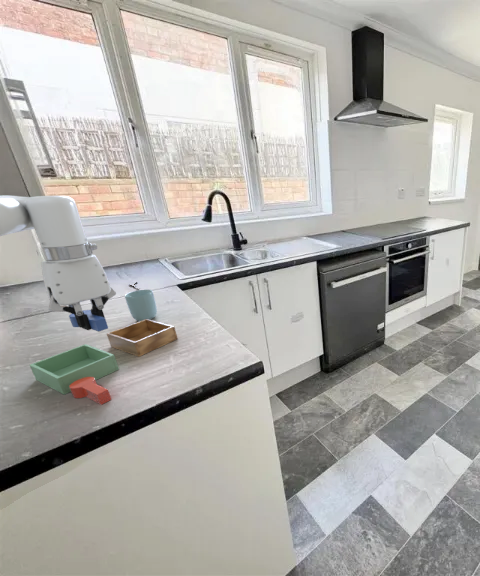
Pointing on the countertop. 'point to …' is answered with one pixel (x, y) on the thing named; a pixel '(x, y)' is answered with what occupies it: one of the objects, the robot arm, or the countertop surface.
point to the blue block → (91, 321)
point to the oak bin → (142, 337)
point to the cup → (141, 304)
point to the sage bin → (74, 367)
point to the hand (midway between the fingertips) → (93, 326)
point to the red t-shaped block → (90, 390)
